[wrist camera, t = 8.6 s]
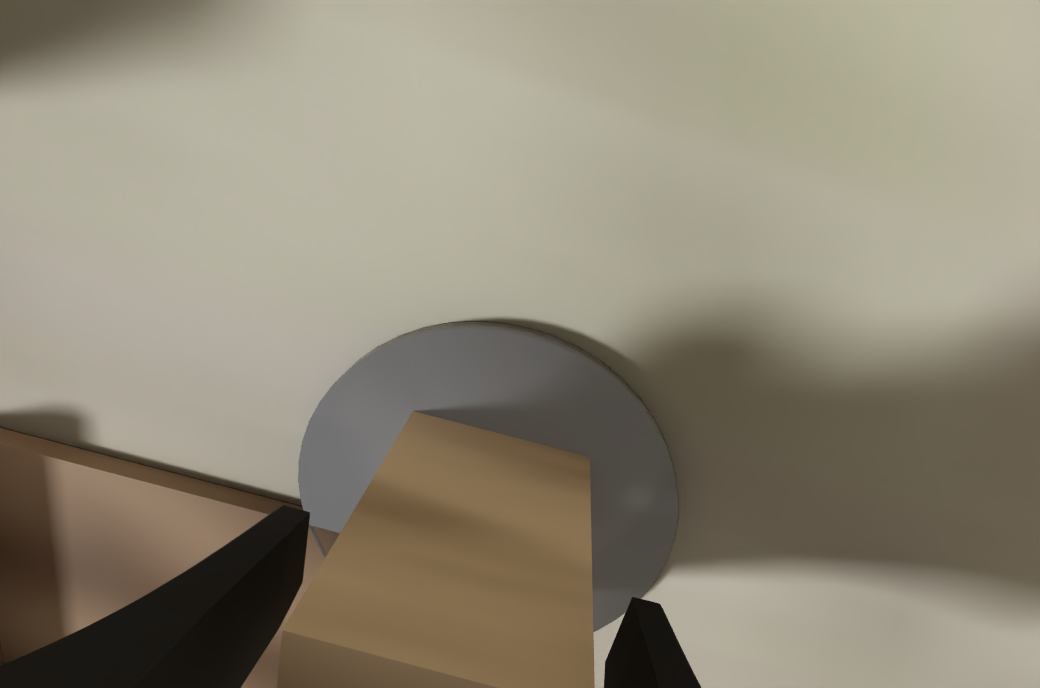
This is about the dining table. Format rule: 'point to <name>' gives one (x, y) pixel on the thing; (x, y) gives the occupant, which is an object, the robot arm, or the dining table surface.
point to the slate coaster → (509, 411)
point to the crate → (110, 540)
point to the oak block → (454, 571)
